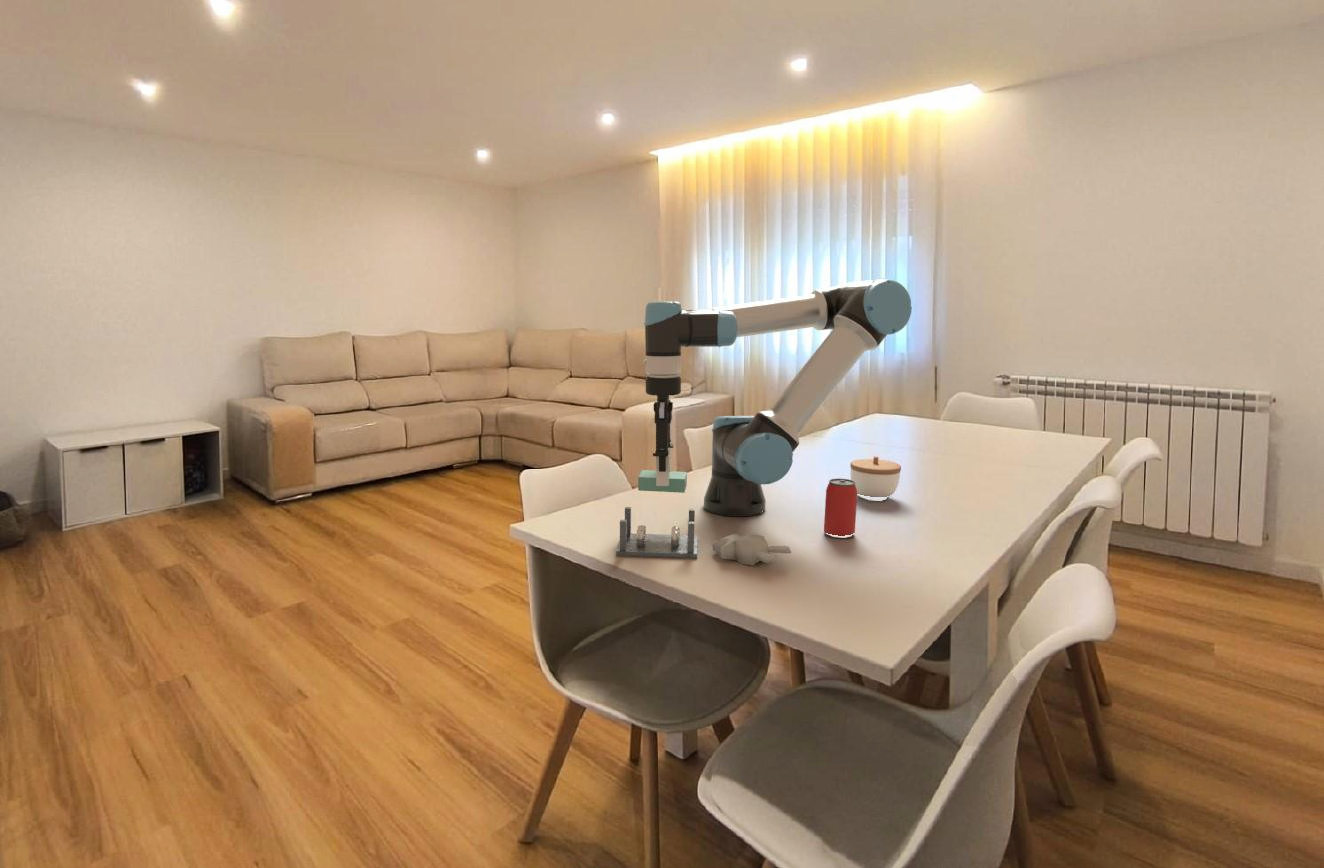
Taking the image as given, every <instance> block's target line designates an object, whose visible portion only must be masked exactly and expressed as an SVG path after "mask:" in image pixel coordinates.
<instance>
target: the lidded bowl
mask: <svg viewBox="0 0 1324 868" xmlns="http://www.w3.org/2000/svg"><path fill="white" fill-rule="evenodd" d="M849 466H850V467H849V468H850V480H852V481H854V482H855V483H856V484H855V486H856V489H857V495H858V494H860V495H864V496H870V497H887V496H890V495H891V496H892V495H894V493H895V492H896V491H897V488H898V486H899V482H900V477H901V471H902V466H901V465H900V463H897V462H894V461H890V460H886V459H879V456H875V455H874V456H873V458H859V459H854V460H852V461H850V465H849ZM891 496H890V497H891Z"/></svg>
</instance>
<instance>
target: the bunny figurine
mask: <svg viewBox="0 0 1324 868" xmlns="http://www.w3.org/2000/svg"><path fill="white" fill-rule="evenodd" d="M711 545H712V551H715V553H716V554H717V556H718V557H720V558H721V559H723V560H734V561H737V562H738V563H739V564H742V565H746V566H747V565H749V566H750V565H753V566H755V564H756V563H760V562H759V561H762V563H767V564H768V563H769V564H770V563H772V562H775V557H776V553H777V554H787V555H788V554H791V553H792V551H791V548H790V547H791V546H788V545H775V546H774V545H773V546H772V545H771V546H769V544H768V542H767V540H766V538H765V536H763V535H760V534H750V533H749V534H747V535H740V536H739V535H738V534H737V533H732V534H729V535H727V536H725V537H724V536H723V537H722V538H719V539H717V540H716V541H714V542H712V543H711Z"/></svg>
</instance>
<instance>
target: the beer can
mask: <svg viewBox="0 0 1324 868" xmlns="http://www.w3.org/2000/svg"><path fill="white" fill-rule="evenodd" d="M855 484H856V483H855V482H854V481H852V480H851V479H847V478H841V477H840V478H831V479H829V480H828V484H827V486H826V489H825V503H824V505H825V506H824V517H823V518H824V520H823V532H824V534H825V533H828V534H832V535H838V536H845V535H851V534H853V533H856V521H857V520H856V519H857V505H858V494H857V489H856V486H855Z"/></svg>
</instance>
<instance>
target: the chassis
mask: <svg viewBox="0 0 1324 868" xmlns="http://www.w3.org/2000/svg"><path fill="white" fill-rule="evenodd" d="M695 511H696V510H695V508H688V522H687V534H680V533H681V532H680V531H681V530H680V526H677V525H676V526H672V527H671V532H670V533H671V534H662V533H661V534H659V533H657V534H656V533H646V525H644V524H643V525H642V524H641V525H638V526H637V530H636V533H632V507H631V506H625V507H624V519H620V520H619V542H618V544H617V547H616V550H615V557H628V558H629V557H630V558H632V557H635V558H659V559H660V558H664V559H688V560H689V559H694V560H697V559H698V535H695V517H696V516H695V514H696V513H695Z"/></svg>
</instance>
